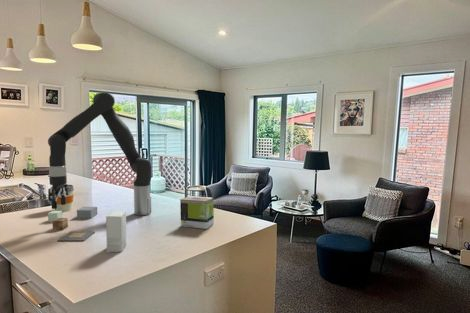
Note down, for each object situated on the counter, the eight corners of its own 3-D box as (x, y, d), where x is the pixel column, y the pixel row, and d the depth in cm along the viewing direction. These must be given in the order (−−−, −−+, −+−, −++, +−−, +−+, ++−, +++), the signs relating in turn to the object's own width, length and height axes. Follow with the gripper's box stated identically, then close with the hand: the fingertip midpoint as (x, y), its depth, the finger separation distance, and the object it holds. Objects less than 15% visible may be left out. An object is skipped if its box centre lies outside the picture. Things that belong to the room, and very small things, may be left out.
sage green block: (62, 219, 177) (62, 210, 176) (57, 222, 172) (57, 213, 171) (53, 219, 176) (53, 210, 176) (48, 222, 172) (47, 213, 171)
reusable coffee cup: (46, 211, 192) (45, 187, 191) (64, 206, 204) (63, 184, 203) (61, 213, 188) (60, 189, 186) (79, 208, 199) (78, 185, 198)
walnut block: (67, 227, 163) (67, 217, 162) (62, 230, 158) (62, 220, 157) (58, 227, 163) (57, 217, 162) (52, 230, 158) (52, 220, 157)
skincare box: (112, 245, 138) (111, 210, 137) (127, 244, 139) (126, 210, 137) (106, 252, 130) (104, 215, 129) (122, 252, 131) (121, 215, 129)
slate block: (97, 215, 186) (97, 206, 186) (91, 218, 178) (90, 210, 178) (84, 214, 186) (83, 206, 186) (77, 218, 178) (76, 210, 178)
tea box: (214, 224, 169) (214, 197, 168) (206, 229, 160) (206, 201, 158) (189, 221, 174) (188, 194, 173) (180, 226, 165) (179, 198, 163)
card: (95, 232, 155) (95, 230, 155) (84, 241, 143) (84, 239, 143) (70, 232, 155) (70, 230, 155) (57, 241, 143) (57, 239, 143)
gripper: (57, 177, 151) (59, 210, 152) (72, 172, 165) (73, 203, 166) (42, 176, 151) (43, 210, 152) (57, 172, 165) (59, 203, 166)
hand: (59, 206), depth 159 cm, fingers open, 8 cm apart
